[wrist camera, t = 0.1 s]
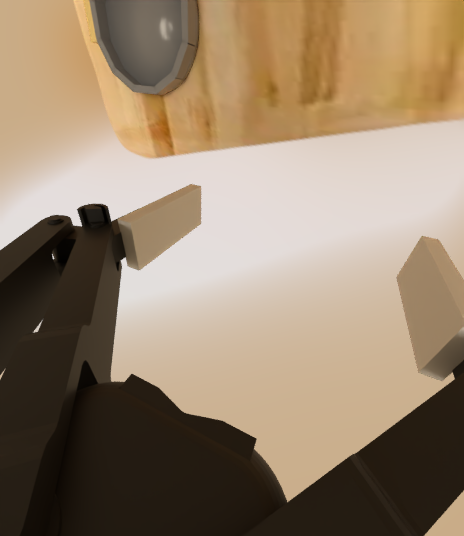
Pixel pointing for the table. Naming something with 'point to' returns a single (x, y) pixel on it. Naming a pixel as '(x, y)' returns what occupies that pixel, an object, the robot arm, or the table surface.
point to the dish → (146, 40)
